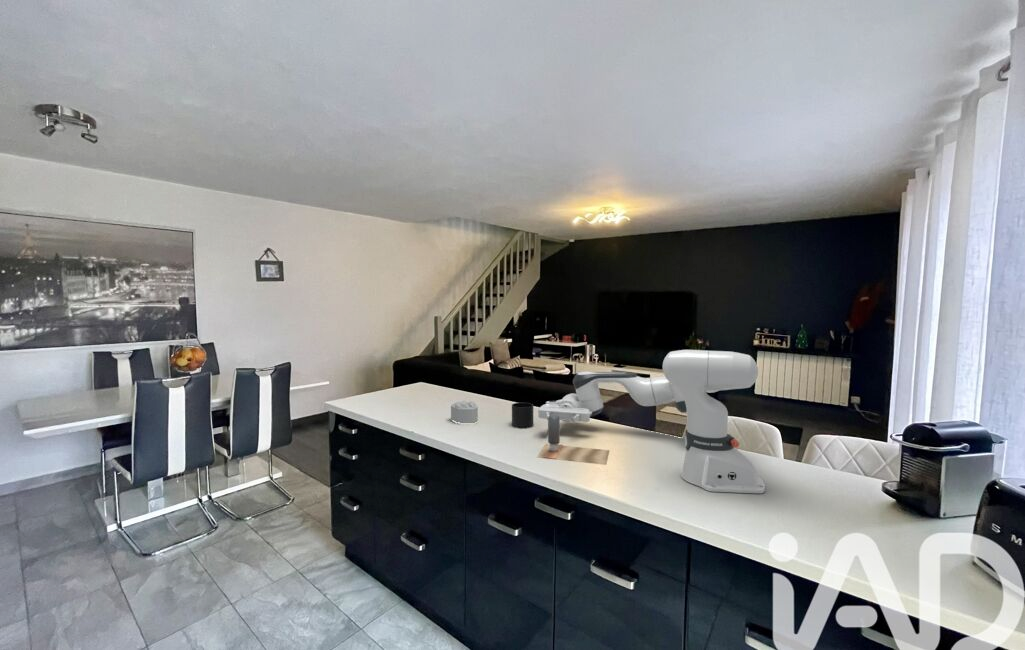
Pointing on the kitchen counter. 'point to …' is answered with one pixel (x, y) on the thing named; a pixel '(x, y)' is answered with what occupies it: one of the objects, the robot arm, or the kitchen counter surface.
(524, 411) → the mug
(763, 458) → the kitchen counter surface
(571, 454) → the board
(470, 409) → the lumpy-topped squat cylinder
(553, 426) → the round-topped grey cylinder
